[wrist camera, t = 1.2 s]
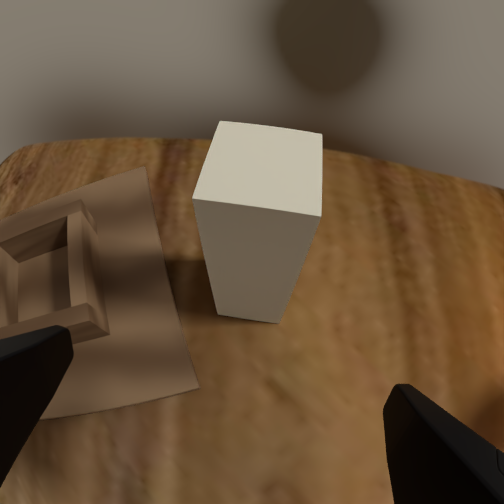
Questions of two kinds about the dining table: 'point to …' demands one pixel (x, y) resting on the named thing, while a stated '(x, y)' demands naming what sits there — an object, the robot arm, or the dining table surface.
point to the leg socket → (97, 294)
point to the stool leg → (258, 215)
